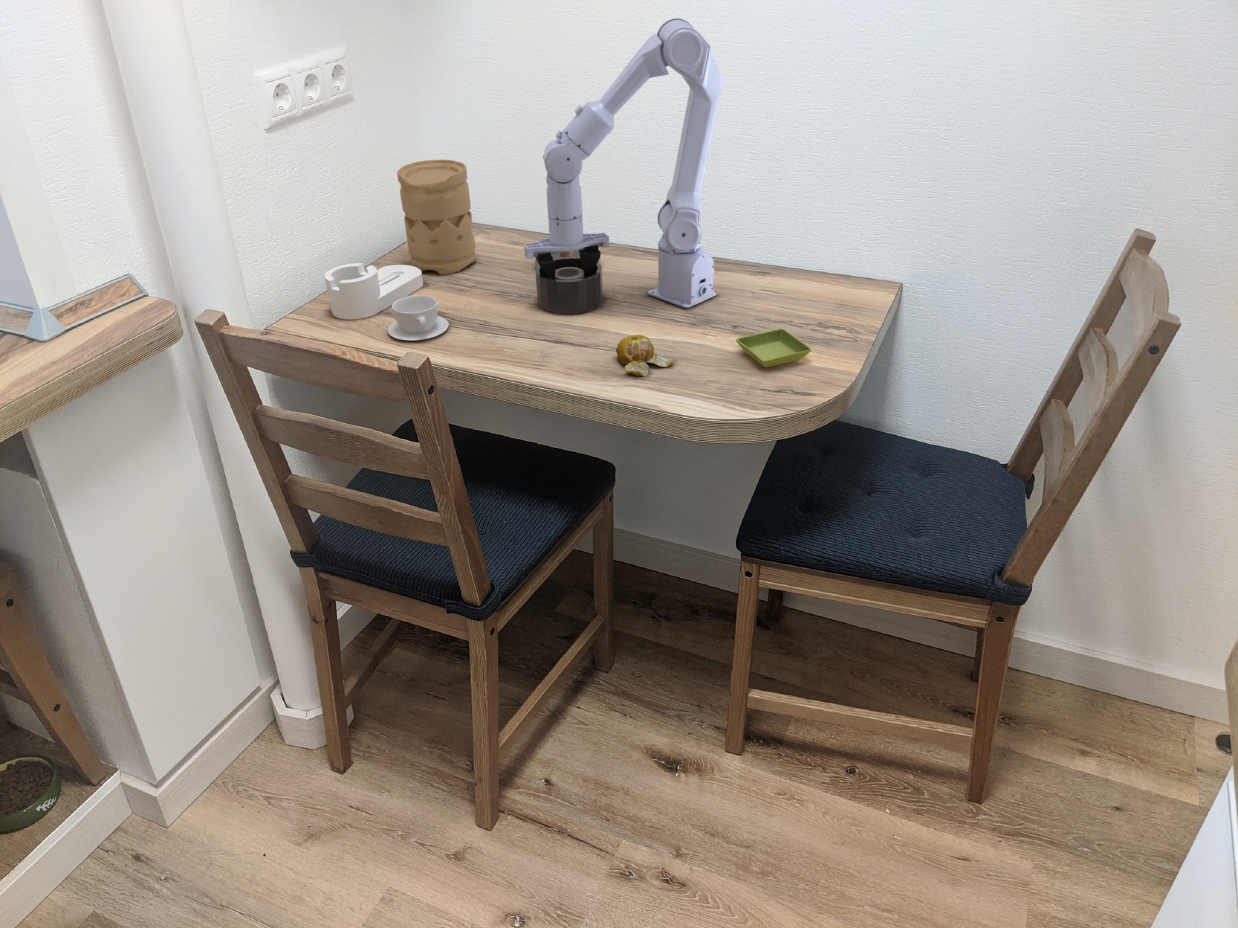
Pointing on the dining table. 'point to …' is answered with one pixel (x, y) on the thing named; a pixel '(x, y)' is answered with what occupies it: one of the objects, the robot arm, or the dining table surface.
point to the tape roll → (569, 273)
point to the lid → (563, 255)
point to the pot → (569, 290)
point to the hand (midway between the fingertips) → (569, 291)
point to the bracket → (369, 288)
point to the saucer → (773, 347)
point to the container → (437, 215)
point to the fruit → (639, 355)
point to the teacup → (416, 318)
